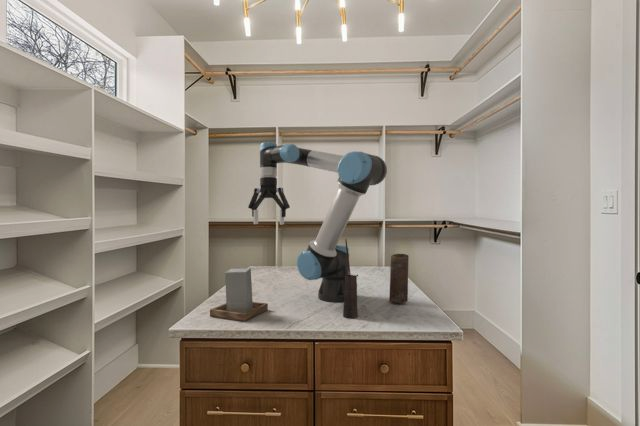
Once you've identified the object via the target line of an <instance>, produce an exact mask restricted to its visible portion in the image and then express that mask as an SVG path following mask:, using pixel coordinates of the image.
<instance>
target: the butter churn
mask: <svg viewBox="0 0 640 426" xmlns="http://www.w3.org/2000/svg"><path fill="white" fill-rule="evenodd" d="M345 246H346V251H347V260H348V269H349V275H346V276H345V285H344V286H345V288H344V289H345V290H344V301H343V309H342V310H343V313H342V316H343V317H344V318H347V319H355V318H357V317H358V281H357V280H358V279H357V278H358V277H359V274H356V275H355V274H352V273H351V266H350V256H349V257H348V249H349V247H348V240H347V239H346V238H345Z"/></svg>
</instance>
